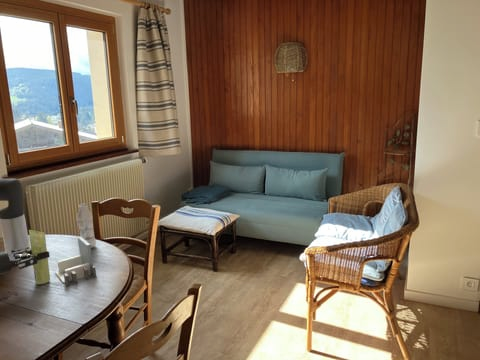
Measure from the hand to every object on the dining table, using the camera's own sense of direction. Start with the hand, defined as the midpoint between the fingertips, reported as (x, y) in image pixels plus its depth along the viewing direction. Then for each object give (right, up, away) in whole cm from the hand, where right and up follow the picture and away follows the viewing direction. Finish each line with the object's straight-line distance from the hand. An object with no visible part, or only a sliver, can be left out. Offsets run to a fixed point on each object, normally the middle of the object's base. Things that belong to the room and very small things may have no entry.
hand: (46, 251), depth 142 cm
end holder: (+7, -10, +8) cm, 15 cm away
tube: (-2, -11, +1) cm, 11 cm away
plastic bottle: (+3, -4, +31) cm, 32 cm away
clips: (+11, -11, +2) cm, 16 cm away
